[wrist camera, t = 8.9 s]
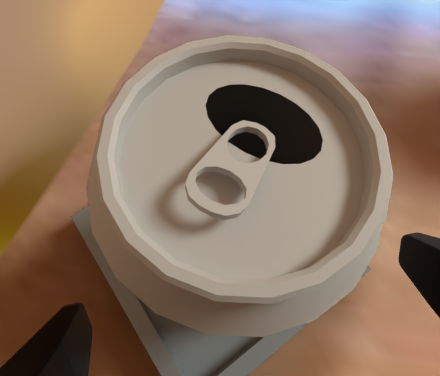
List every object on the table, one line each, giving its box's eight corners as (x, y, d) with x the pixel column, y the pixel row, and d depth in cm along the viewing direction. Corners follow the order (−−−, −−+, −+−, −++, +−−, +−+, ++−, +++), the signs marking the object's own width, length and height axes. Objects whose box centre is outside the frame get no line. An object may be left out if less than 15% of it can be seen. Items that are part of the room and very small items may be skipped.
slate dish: (190, 414, 15) (189, 425, 14) (80, 223, 18) (70, 216, 17) (358, 272, 18) (371, 268, 16) (238, 129, 21) (240, 116, 20)
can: (306, 225, 18) (469, 90, 7) (247, 350, 16) (358, 452, 4) (196, 166, 19) (186, -33, 8) (124, 274, 17) (-36, 202, 5)
